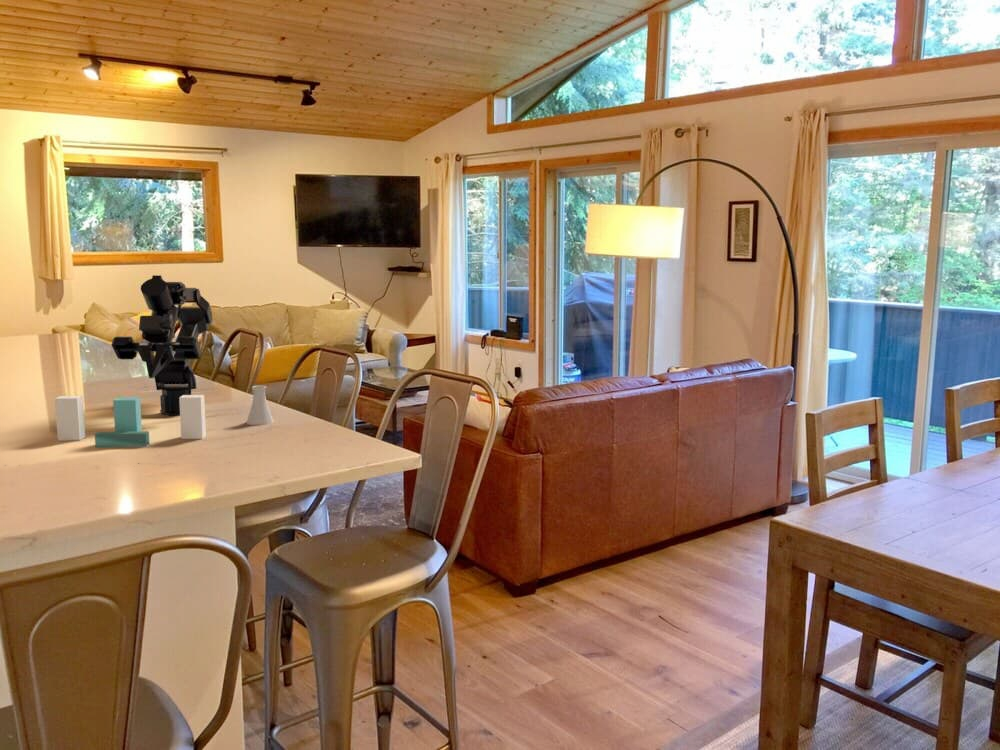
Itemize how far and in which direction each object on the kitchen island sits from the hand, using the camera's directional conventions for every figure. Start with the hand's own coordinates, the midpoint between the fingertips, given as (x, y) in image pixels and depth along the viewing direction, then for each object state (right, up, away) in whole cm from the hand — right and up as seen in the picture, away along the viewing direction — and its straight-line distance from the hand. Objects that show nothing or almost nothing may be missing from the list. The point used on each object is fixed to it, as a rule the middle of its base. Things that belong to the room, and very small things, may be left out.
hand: (150, 377), depth 186 cm
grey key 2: (+14, -13, -11) cm, 22 cm away
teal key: (+2, -13, -15) cm, 20 cm away
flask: (+23, -12, +6) cm, 27 cm away
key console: (+2, -15, -14) cm, 21 cm away
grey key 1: (-11, -13, -13) cm, 22 cm away
